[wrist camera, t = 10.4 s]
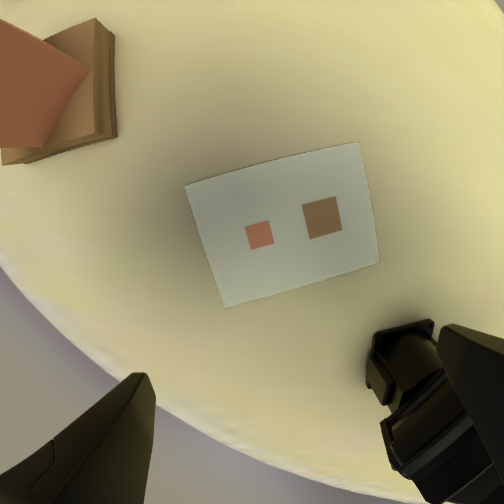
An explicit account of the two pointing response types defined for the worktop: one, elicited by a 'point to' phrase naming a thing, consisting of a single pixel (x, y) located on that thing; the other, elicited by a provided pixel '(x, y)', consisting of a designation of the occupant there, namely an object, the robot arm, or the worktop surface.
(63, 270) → the worktop surface
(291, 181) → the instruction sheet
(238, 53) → the worktop surface
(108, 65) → the base brick
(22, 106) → the tall brick
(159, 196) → the worktop surface
